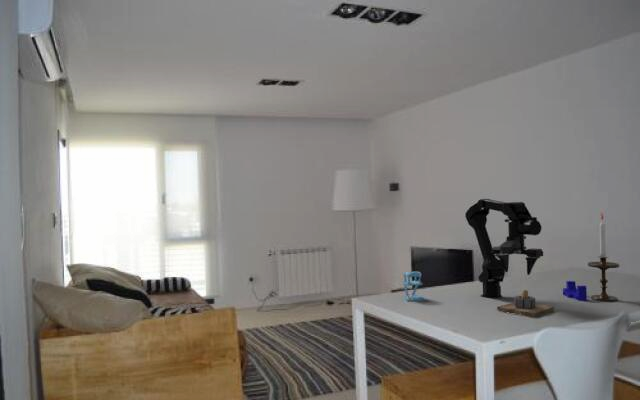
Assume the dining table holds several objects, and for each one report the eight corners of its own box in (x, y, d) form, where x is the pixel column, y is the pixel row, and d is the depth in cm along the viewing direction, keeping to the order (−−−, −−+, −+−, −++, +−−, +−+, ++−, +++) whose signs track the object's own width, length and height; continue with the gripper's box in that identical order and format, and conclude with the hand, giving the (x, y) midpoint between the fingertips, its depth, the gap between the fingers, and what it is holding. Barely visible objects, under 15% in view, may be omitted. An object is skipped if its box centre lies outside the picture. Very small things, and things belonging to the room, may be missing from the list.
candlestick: (590, 295, 200) (588, 212, 200) (620, 298, 193) (618, 211, 193) (587, 300, 191) (584, 213, 191) (619, 303, 185) (616, 212, 185)
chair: (418, 296, 208) (417, 268, 208) (425, 300, 199) (424, 271, 199) (400, 297, 206) (400, 269, 206) (407, 301, 198) (406, 272, 198)
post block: (497, 310, 178) (496, 290, 178) (517, 305, 186) (517, 285, 186) (533, 317, 167) (532, 296, 167) (553, 311, 175) (552, 290, 175)
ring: (511, 306, 177) (511, 297, 177) (521, 304, 181) (520, 294, 181) (528, 309, 172) (528, 300, 172) (538, 306, 176) (538, 297, 176)
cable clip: (563, 295, 203) (562, 281, 203) (574, 295, 203) (573, 281, 203) (574, 301, 191) (574, 286, 191) (586, 301, 191) (586, 286, 191)
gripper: (483, 234, 191) (484, 273, 191) (528, 236, 176) (529, 278, 176) (499, 232, 198) (500, 270, 198) (543, 234, 183) (544, 275, 183)
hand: (517, 273), depth 188 cm, fingers open, 9 cm apart
